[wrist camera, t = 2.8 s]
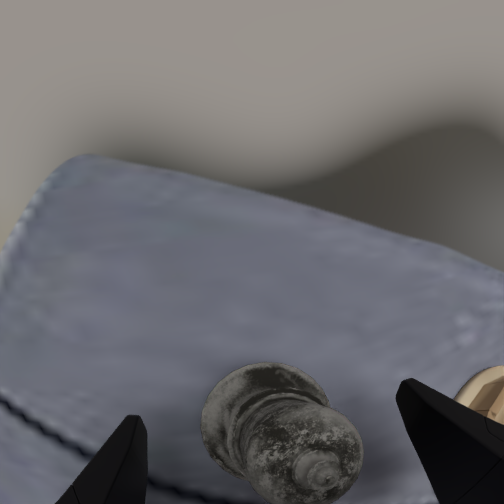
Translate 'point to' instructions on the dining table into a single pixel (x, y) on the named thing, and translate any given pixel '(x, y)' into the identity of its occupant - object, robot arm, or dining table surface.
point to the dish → (485, 393)
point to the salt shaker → (281, 435)
